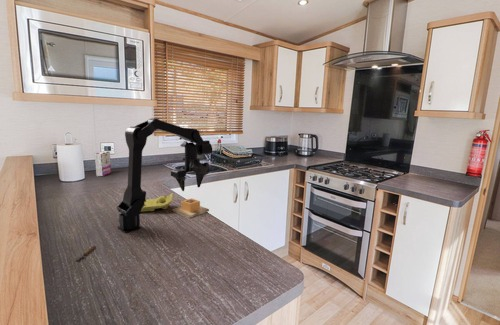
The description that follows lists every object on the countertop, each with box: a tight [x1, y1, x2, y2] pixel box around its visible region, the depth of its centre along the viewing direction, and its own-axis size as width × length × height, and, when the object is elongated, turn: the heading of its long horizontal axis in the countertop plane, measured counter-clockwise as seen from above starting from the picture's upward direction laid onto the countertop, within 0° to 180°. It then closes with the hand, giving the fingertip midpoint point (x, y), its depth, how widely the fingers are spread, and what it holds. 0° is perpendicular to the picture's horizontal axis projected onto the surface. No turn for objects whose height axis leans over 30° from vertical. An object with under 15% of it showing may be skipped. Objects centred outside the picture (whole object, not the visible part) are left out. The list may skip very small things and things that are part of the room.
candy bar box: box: [94, 150, 112, 177], centre depth 188 cm, size 11×5×16 cm, turn 179°
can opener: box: [74, 245, 96, 263], centre depth 85 cm, size 9×2×1 cm, turn 172°
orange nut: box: [181, 198, 201, 212], centre depth 126 cm, size 6×6×4 cm
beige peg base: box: [172, 200, 210, 219], centre depth 126 cm, size 12×12×5 cm
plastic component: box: [140, 192, 174, 213], centre depth 128 cm, size 20×7×10 cm
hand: (191, 189), depth 125 cm, fingers open, 9 cm apart
